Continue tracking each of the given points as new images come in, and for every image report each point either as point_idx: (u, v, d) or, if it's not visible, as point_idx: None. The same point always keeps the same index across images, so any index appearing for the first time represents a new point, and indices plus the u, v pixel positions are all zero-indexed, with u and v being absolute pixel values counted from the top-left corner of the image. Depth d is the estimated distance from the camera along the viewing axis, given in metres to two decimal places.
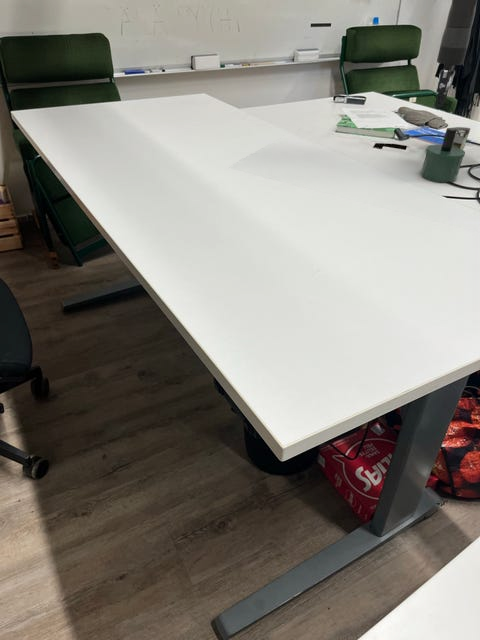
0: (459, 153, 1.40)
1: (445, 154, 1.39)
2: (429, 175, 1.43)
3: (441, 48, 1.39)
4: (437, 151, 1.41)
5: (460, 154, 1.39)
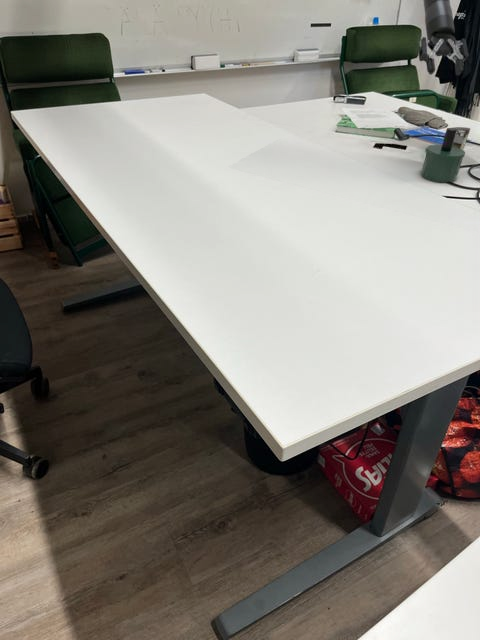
0: (459, 153, 1.40)
1: (445, 154, 1.39)
2: (429, 175, 1.43)
3: None
4: (437, 151, 1.41)
5: (460, 154, 1.39)
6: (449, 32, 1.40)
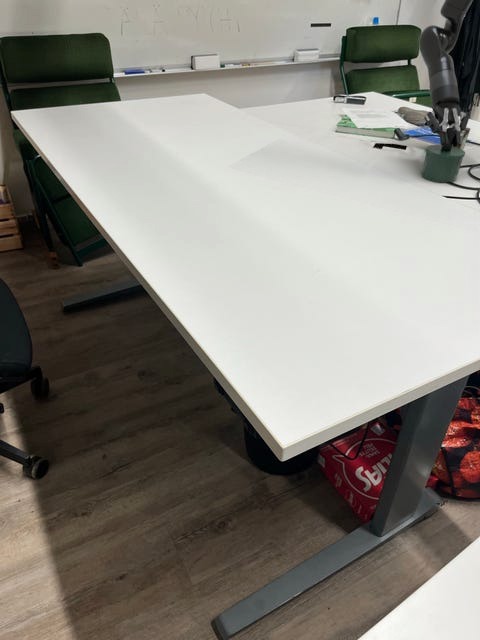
0: (459, 153, 1.40)
1: (445, 154, 1.39)
2: (429, 175, 1.43)
3: None
4: (437, 151, 1.41)
5: (460, 154, 1.39)
6: (453, 102, 1.39)
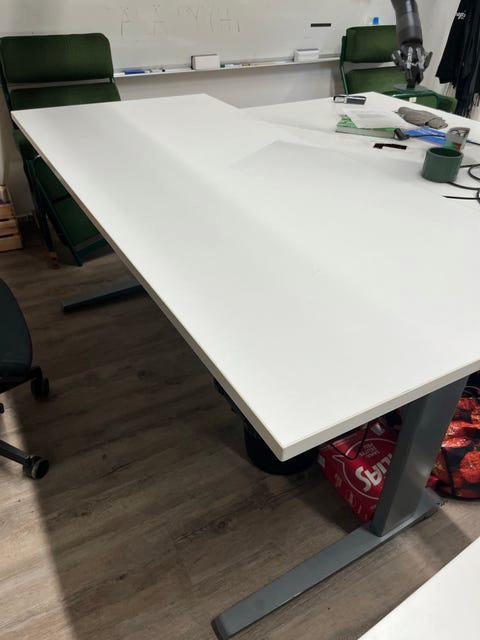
0: (422, 89, 1.53)
1: (409, 89, 1.51)
2: (429, 175, 1.43)
3: None
4: (402, 87, 1.53)
5: (423, 90, 1.52)
6: (417, 42, 1.52)
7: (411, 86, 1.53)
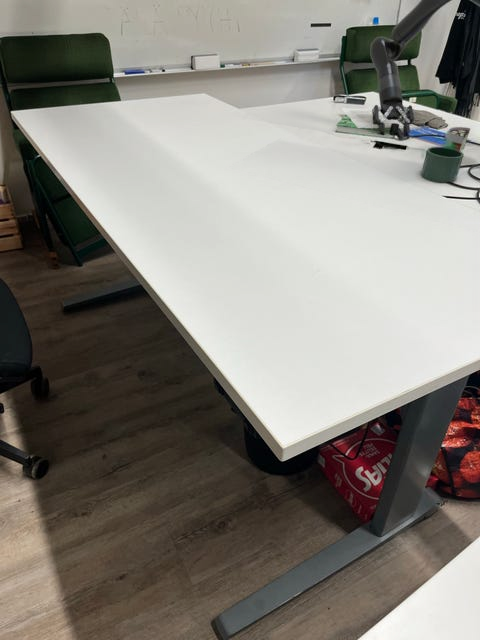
0: None
1: (390, 145, 1.66)
2: (429, 175, 1.43)
3: None
4: (383, 142, 1.68)
5: (402, 145, 1.67)
6: (397, 101, 1.67)
7: None
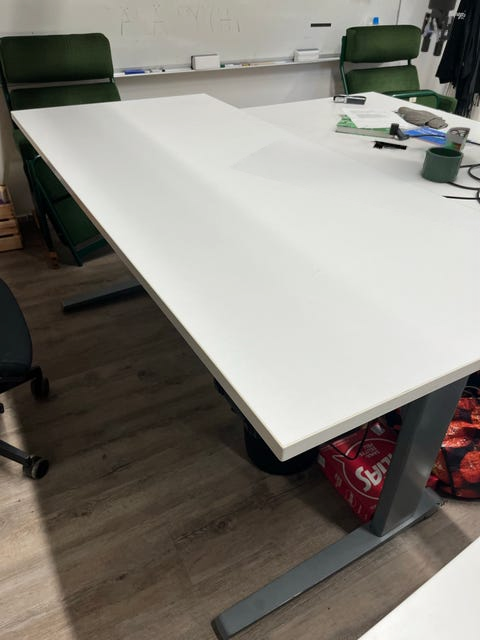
0: None
1: (390, 145, 1.66)
2: (429, 175, 1.43)
3: None
4: (383, 142, 1.68)
5: (402, 145, 1.67)
6: None
7: None
